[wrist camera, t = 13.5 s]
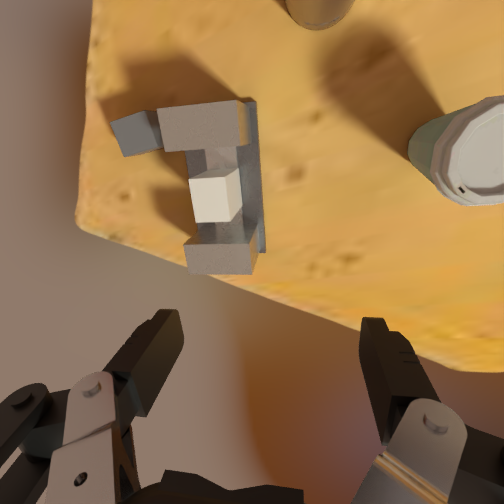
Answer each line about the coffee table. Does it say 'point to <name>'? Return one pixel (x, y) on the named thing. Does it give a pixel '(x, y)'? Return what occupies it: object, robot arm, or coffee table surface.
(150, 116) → the block
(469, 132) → the disposable coffee cup
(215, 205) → the block
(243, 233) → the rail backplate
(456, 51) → the coffee table surface
